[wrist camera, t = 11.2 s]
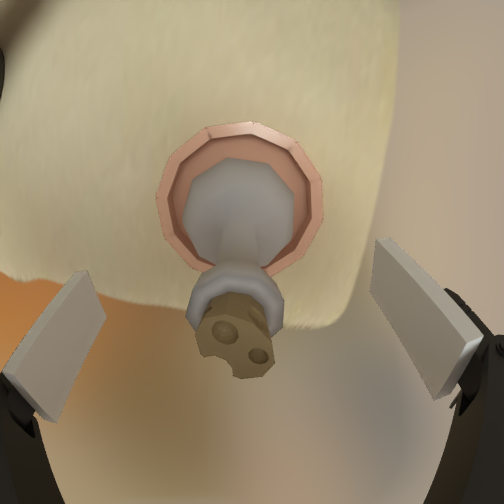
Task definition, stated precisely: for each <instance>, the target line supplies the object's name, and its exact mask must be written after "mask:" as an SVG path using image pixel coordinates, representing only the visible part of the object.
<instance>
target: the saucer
mask: <svg viewBox="0 0 504 504" xmlns="http://www.w3.org/2000/svg"><path fill="white" fill-rule="evenodd" d="M227 157H228V158H236V159H243V160H250V161H256V162H262V163H268V164H269V165H270V166H271V167H272V168H273V169H274V170H275V172H276V173H277V174H278V175H279V176H280V177H281V179H282V180H283V181H284V182H285V183H286V185H287V186H288V187H289V188H290V189H291V191H292V192H293V193H294V220H293V234H292V239H291V240H290V241H289V242H288V244H287V245H286V246H285V247H284V248H283V249H282V250H281V251H280V252H279V253H278V254H277V255H276V256H275V258H274V259H273V260H272V261H271V262H270V263H269V264H268V265H267V266H261V268H262V269H263V270H264V271H265V272H266V273H267V274H268V275H269V276H270V277H272V276H273V275H275V274H276V273H278V272H280V271H281V270H283V269H284V268H286V267H287V266H289V265H291V264H292V263H294V262H295V261H297V260H298V259H300V258H302V255H303V256H304V254H305V252H306V251H307V249H308V247H309V245H310V243H311V242H312V240H313V238H314V236H315V234H316V233H317V231H318V229H319V227H320V225H321V224H322V220H323V196H322V179H321V176H320V175H319V173H318V172H317V170H316V168H315V167H314V165H313V164H312V162H311V161H310V159H309V158H308V156H307V155H306V153H305V152H304V150H303V149H302V147H301V146H300V144H299V143H298V142H297V141H296V140H294V139H292V138H290V137H288V136H286V135H284V134H282V133H279V132H277V131H275V130H273V129H271V128H269V127H266V126H264V125H262V124H259V123H257V122H254V123H253V121H250V122H240V123H232V124H224V125H216V126H209V127H207V128H204V129H203V130H201V131H200V132H199V133H198V134H196V135H195V136H194V137H193V138H191V139H190V140H189V141H187V142H186V143H185V144H184V145H183V146H181V147H180V148H179V149H178V150H176V151H175V152H174V153H173V154H172V155H171V157H169V160H168V162H167V165H166V168H165V171H164V174H163V176H162V179H161V182H160V185H159V188H158V191H157V194H156V202H157V207H158V212H159V217H160V221H161V226H162V230H163V235H164V237H165V239H166V240H167V242H168V243H169V244H170V245H171V246H172V247H173V248H174V249H175V251H176V252H177V253H178V254H179V255H180V256H181V257H182V258H183V260H184V261H185V262H186V263H187V264H188V265H189V266H190V267H192V266H193V267H192V268H193V269H195V270H198V271H200V272H205V271H207V270H209V269H210V268H212V267H214V266H216V264H214V263H212V262H210V261H208V260H206V259H204V258H201V257H199V255H198V253H197V251H196V249H195V247H194V245H193V243H192V241H191V239H190V237H189V235H188V233H187V231H186V229H185V227H184V225H183V218H182V215H183V211H184V208H185V204H186V200H187V197H188V193H189V190H190V186H191V183H192V179H194V178H195V177H197V176H198V175H200V174H201V173H203V172H204V171H206V170H208V169H209V168H211V167H212V166H214V165H215V164H217V163H219V162H220V161H222V160H223V159H225V158H227Z"/></svg>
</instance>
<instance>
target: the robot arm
mask: <svg viewBox="0 0 504 504" xmlns="http://www.w3.org/2000/svg"><path fill="white" fill-rule="evenodd" d="M3 77H4V59H3V54H2V51H1V49H0V95H1V90H2V85H3ZM370 293H371V295H372V296H373V298H374V299H375V301H376V302H377V304H378V305H379V307H380V309H381V310H382V312H383V313H384V315H385V316H386V318H387V320H388V321H389V323H390V324H391V326H392V328H393V329H394V331H395V332H396V334H397V336H398V338H399V339H400V341H401V342H402V344H403V346H404V348H405V349H406V351H407V353H408V354H409V356H410V358H411V360H412V361H413V363H414V365H415V367H416V369H417V370H418V372H419V374H420V376H421V378H422V379H423V381H424V383H425V385H426V387H427V389H428V391H429V393H430V394H431V396H432V398H433V400H434V401H435V400H437V399H439V398H442V397H444V396H446V395H448V394H450V393H451V392H452V390H453V389H454V388H455V386H456V384H457V383H458V384H459V386H460V387H461V390H460V392H459V393H458V395H457V396H456V397H455V399H454V400H453V402H452V403H451V405H450V408H451V409H452V407H453V406H454V405H455V404H456V408H455V412H454V416H453V420H452V425H451V428H450V432H449V436H448V439H447V442H446V446H445V449H444V452H443V455H442V458H441V461H440V464H439V467H438V469H437V472H436V475H435V477H434V480H433V482H432V485H431V487H430V490H429V492H428V494H427V497H426V499H425V501H424V503H423V504H504V335H496V336H494V335H493V334H492V333H491V331H490V330H489V329H488V328H487V327H486V325H485V324H484V323H483V322H482V321H481V320H480V318H479V317H478V316H477V315H476V314H475V313H474V312H473V311H471V308H470V307H469V306H468V305H466V304H465V302H464V301H463V300H462V299H461V298H460V296H459V295H458V294H456V293H454V292H453V291H451V290H449V289H447V288H445V289H443V288H442V287H441V286H440V285H439V284H438V283H437V282H436V281H435V280H434V279H433V278H432V277H431V276H430V275H429V274H428V273H427V272H426V271H425V270H424V269H423V268H422V267H421V266H420V265H419V264H418V263H417V262H416V261H415V260H414V259H413V258H412V257H411V256H410V255H409V254H408V253H407V252H406V251H405V250H403V249H402V248H401V247H400V246H399V245H398V244H397V243H396V242H395V241H394V240H393V239H392V238H381V239H376V241H375V252H374V261H373V269H372V277H371V284H370ZM106 318H107V316H106V314H105V312H104V310H103V307H102V305H101V303H100V300H99V298H98V296H97V293H96V291H95V289H94V286H93V284H92V281H91V279H90V276H89V274H88V271H80V272H75V273H74V274H73V276H72V277H71V278H70V279H69V280H68V281H67V283H66V284H65V285H64V286H63V287H62V289H61V290H60V291H59V292H58V293H57V295H56V296H55V297H54V298H53V300H52V301H51V302H50V303H49V305H48V306H47V307H46V309H45V310H44V311H43V312H42V314H41V315H40V317H39V318H38V319H37V321H36V322H35V323H34V325H33V326H32V327H31V329H30V330H29V332H28V333H27V334H26V335H25V337H24V338H23V339H22V341H21V342H20V344H19V345H18V347H17V348H16V350H15V352H14V353H13V354H12V356H11V357H10V359H9V361H8V362H7V364H6V365H5V367H4V368H3V370H2V372H1V373H0V504H65V502H64V500H63V498H62V496H61V493H60V491H59V488H58V486H57V483H56V481H55V478H54V475H53V473H52V470H51V467H50V464H49V461H48V458H47V454H46V451H45V448H44V444H43V441H42V437H41V433H40V429H39V425H38V422H37V419H36V418H35V417H34V416H33V414H34V412H35V411H36V412H37V413H38V414H39V415H40V416H41V417H42V418H43V419H44V420H47V421H50V422H53V423H57V422H58V419H59V417H60V415H61V412H62V409H63V407H64V405H65V403H66V400H67V398H68V395H69V393H70V391H71V388H72V386H73V384H74V382H75V380H76V378H77V375H78V373H79V371H80V369H81V367H82V365H83V362H84V361H85V359H86V356H87V355H88V353H89V351H90V348H91V347H92V344H93V342H94V341H95V339H96V337H97V335H98V333H99V331H100V329H101V327H102V325H103V324H104V322H105V319H106ZM456 402H457V403H456Z"/></svg>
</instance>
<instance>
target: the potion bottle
mask: <svg viewBox="0 0 504 504" xmlns="http://www.w3.org/2000/svg"><path fill="white" fill-rule="evenodd" d="M182 218H183V225H184V227H185V229H186V231H187V233H188V235H189V237H190V239H191V241H192V243H193V245H194V247H195V249H196V251H197V253H198V255H199V257H201V258H204V259H206V260H208V261H210V262H212V263H214V264H216V266H214V267H212V268H210V269H209V270H207V271H205V272H203V273H202V274H201V276H200V278H199V279H198V281H197V283H196V284H195V286H194V288H193V290H192V294H191V297H190V301H189V305H188V308H187V312H186V318H187V320H188V321H189V323H190V324H191V326H192V327H193V329H194V330H195V332H196V333H195V337H196V340H197V344H198V347H199V350H200V354H201V355H202V356H203V357H207V356H217V357H219V358H222V359H224V360H226V361H227V362H228V363H229V365H230V366H231V367H232V370H233V376H234V377H237V378H240V379H245V378H254V377H263V375H264V374H265V373H266V372H267V371H268V370H269V369H270V368H271V367H272V366H273V365H274V364H275V361H274V354H273V347H272V341H271V337H273V336H274V335H275V334H276V333H277V332H278V331H279V330H280V329H282V328H283V313H284V299H283V297H282V295H281V293H280V291H279V289H278V286H277V284H276V282H275V281H274V280H273V279H272V278H271V277H270V276H269V275H268V274H267V273H266V272H265V271H264V270H263V269H262V268H261V266H267V265H268V264H269V263H270V262H271V261H272V260H273V259H274V258H275V256H276V255H277V254H278V253H279V252H280V251H281V250H282V249H283V248H284V247H285V246H286V245H287V244H288V242H289V241H290V240H291V239H292V234H293V220H294V193H293V192H292V191H291V189H290V188H289V187H288V186H287V185H286V183H285V182H284V181H283V180H282V179H281V177H280V176H279V175H278V174H277V173H276V172H275V170H274V169H273V168H272V167H271V166H270V165H269V164H268V163H262V162H256V161H250V160H243V159H236V158H228V157H227V158H225V159H223V160H222V161H220V162H219V163H217V164H215V165H214V166H212V167H211V168H209V169H208V170H206V171H204V172H203V173H201V174H200V175H198V176H197V177H195V178H194V179H192V183H191V186H190V190H189V193H188V197H187V200H186V204H185V208H184V211H183V215H182Z"/></svg>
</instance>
